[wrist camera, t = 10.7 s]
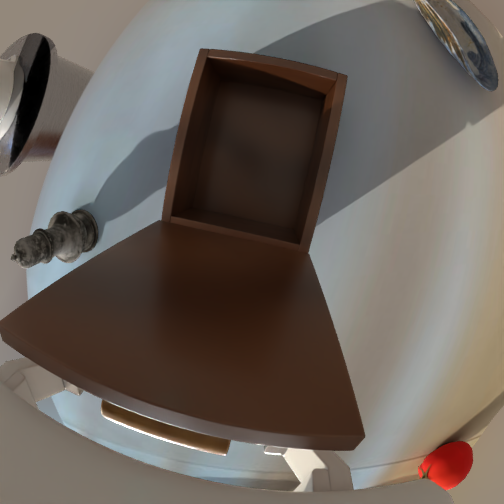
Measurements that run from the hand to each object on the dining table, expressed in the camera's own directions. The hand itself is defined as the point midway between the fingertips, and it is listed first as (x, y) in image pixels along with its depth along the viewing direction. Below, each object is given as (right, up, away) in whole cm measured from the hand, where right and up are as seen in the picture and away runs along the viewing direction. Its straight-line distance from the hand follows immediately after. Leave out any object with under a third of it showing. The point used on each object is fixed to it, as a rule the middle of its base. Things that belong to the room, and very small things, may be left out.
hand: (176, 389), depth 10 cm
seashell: (+27, +32, +9) cm, 43 cm away
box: (+4, +15, +15) cm, 22 cm away
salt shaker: (-17, +8, +19) cm, 27 cm away
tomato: (+45, -38, +27) cm, 65 cm away
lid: (+1, +5, +3) cm, 5 cm away
